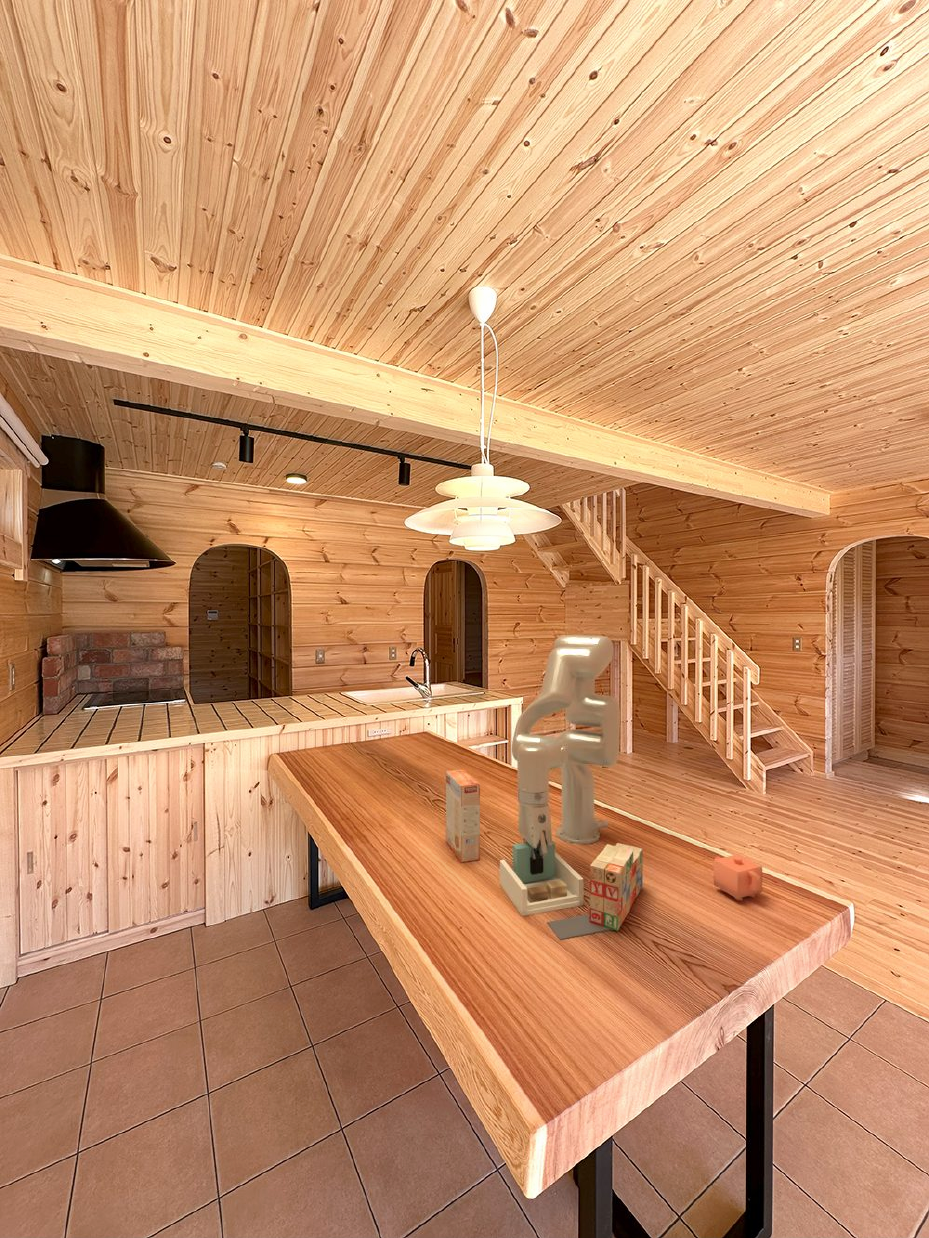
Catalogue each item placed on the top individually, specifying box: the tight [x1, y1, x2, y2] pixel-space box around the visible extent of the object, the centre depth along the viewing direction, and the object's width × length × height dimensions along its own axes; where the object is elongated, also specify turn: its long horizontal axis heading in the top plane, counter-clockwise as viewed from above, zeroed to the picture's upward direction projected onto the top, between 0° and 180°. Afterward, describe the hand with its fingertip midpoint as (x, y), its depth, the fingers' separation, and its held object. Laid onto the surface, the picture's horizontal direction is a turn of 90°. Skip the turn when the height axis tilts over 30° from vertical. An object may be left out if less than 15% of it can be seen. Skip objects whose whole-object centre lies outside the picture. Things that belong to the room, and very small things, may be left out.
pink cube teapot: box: [713, 854, 763, 902], centre depth 123 cm, size 8×12×8 cm, turn 21°
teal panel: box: [512, 840, 556, 883], centre depth 126 cm, size 10×2×8 cm, turn 107°
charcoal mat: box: [546, 913, 615, 941], centre depth 110 cm, size 13×6×1 cm, turn 107°
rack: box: [499, 851, 585, 917], centre depth 122 cm, size 15×14×6 cm
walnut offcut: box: [527, 886, 548, 903], centre depth 118 cm, size 4×2×2 cm, turn 107°
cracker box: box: [445, 769, 481, 864], centre depth 145 cm, size 14×6×21 cm, turn 18°
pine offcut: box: [546, 880, 567, 899], centre depth 119 cm, size 4×2×3 cm, turn 107°
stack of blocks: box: [588, 842, 644, 931], centre depth 118 cm, size 21×6×12 cm, turn 148°
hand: (534, 869), depth 126 cm, fingers closed on teal panel, 2 cm apart
